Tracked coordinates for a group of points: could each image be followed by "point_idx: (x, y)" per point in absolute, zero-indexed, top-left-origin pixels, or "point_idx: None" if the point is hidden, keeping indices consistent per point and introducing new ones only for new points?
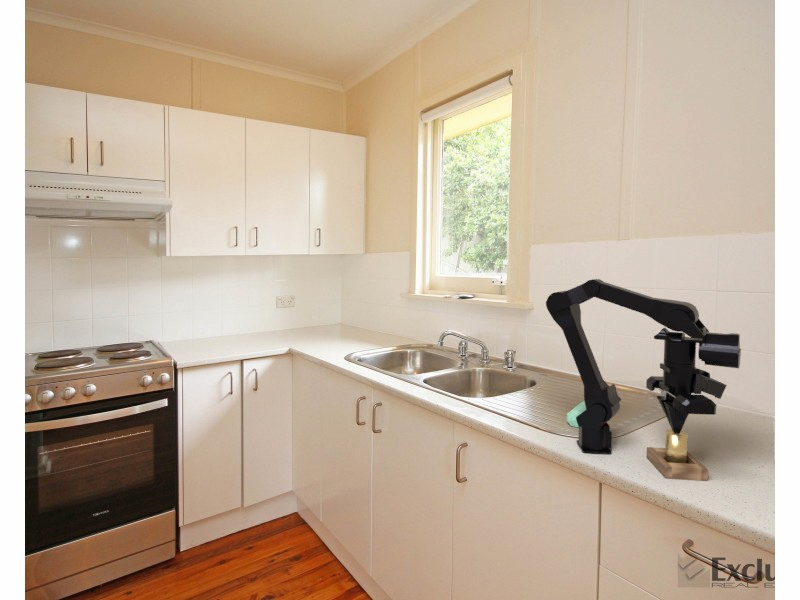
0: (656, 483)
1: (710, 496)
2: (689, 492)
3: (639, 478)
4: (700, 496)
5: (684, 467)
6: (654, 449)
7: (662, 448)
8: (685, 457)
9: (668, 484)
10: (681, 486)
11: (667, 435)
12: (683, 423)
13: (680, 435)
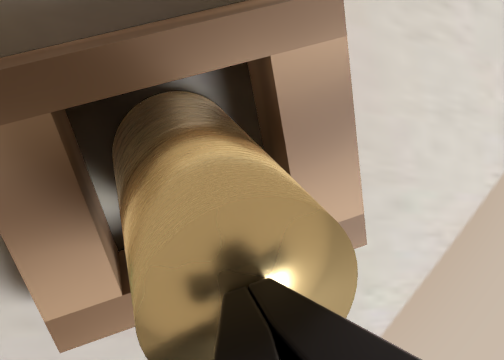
0: (390, 248)
1: (479, 24)
2: (453, 118)
3: (356, 311)
4: (483, 74)
5: (349, 144)
6: (88, 308)
7: (31, 260)
8: (242, 131)
9: (390, 200)
10: (400, 145)
11: None
12: (387, 347)
13: (321, 267)
